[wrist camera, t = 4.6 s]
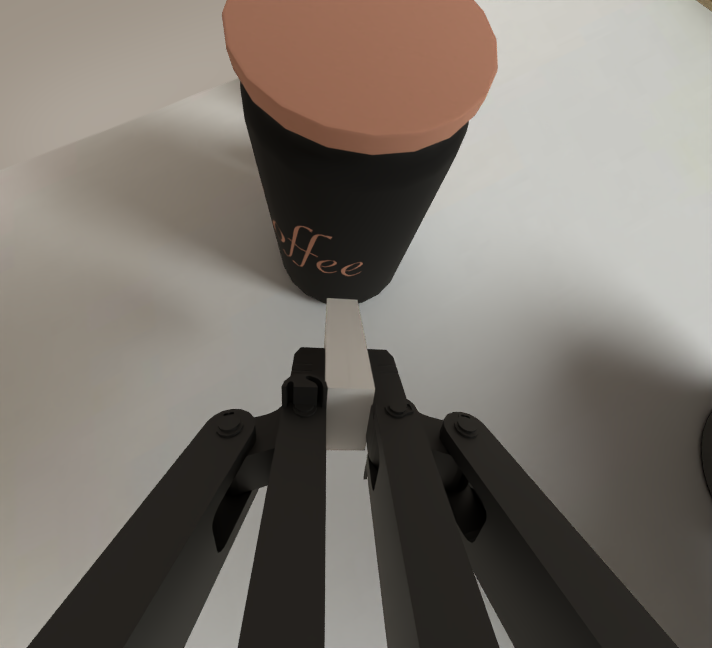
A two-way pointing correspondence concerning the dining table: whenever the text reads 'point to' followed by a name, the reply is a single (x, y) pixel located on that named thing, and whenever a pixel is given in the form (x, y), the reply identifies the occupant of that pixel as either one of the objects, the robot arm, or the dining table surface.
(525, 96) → the dining table surface
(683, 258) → the dining table surface
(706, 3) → the pile of dominoes
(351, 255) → the coffee jar
